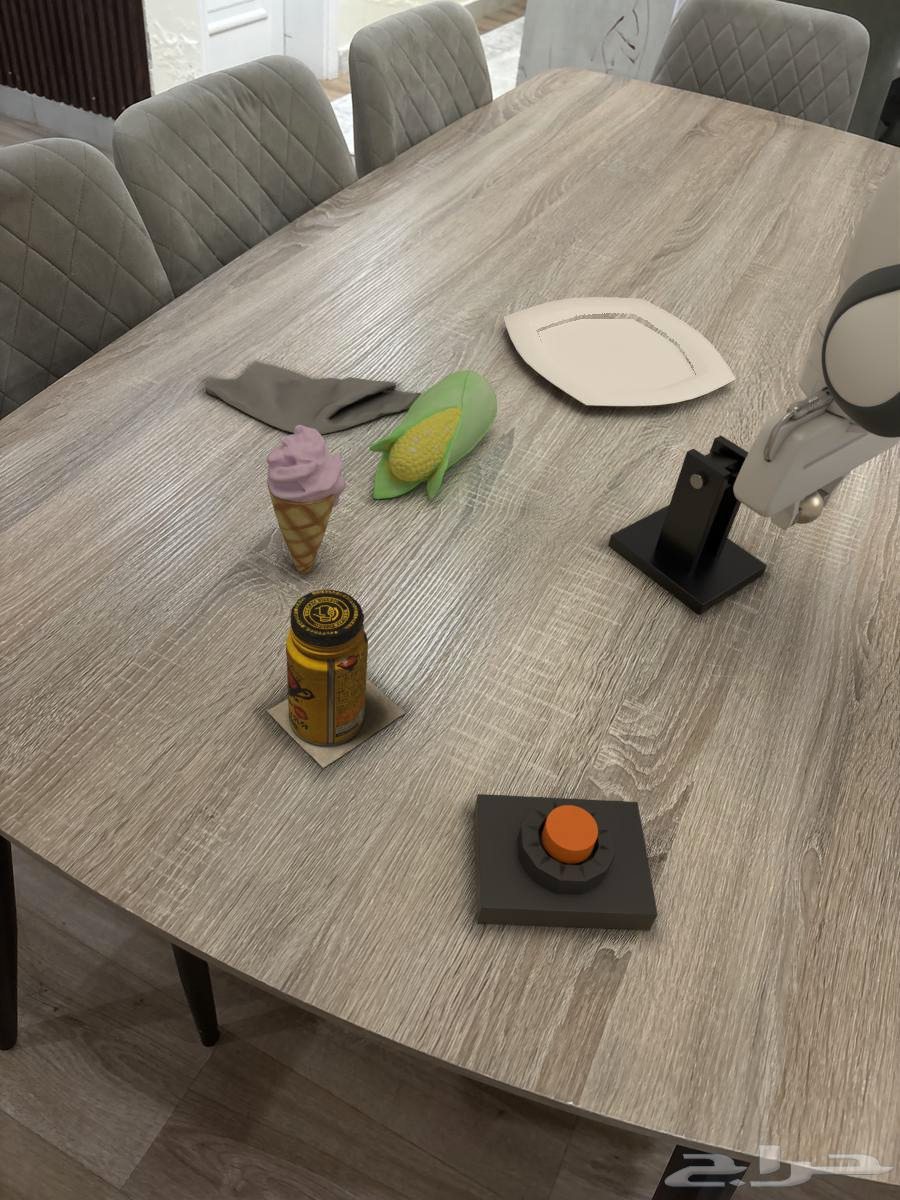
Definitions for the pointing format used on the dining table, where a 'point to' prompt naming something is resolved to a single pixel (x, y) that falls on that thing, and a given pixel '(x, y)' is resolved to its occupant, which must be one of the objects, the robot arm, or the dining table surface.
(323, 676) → the condiment
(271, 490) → the ice cream cone
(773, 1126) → the dining table surface
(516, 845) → the dark grey button base
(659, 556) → the ball handle lever stand
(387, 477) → the corn
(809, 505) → the switch lever
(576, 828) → the power button
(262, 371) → the cloth
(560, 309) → the plate
